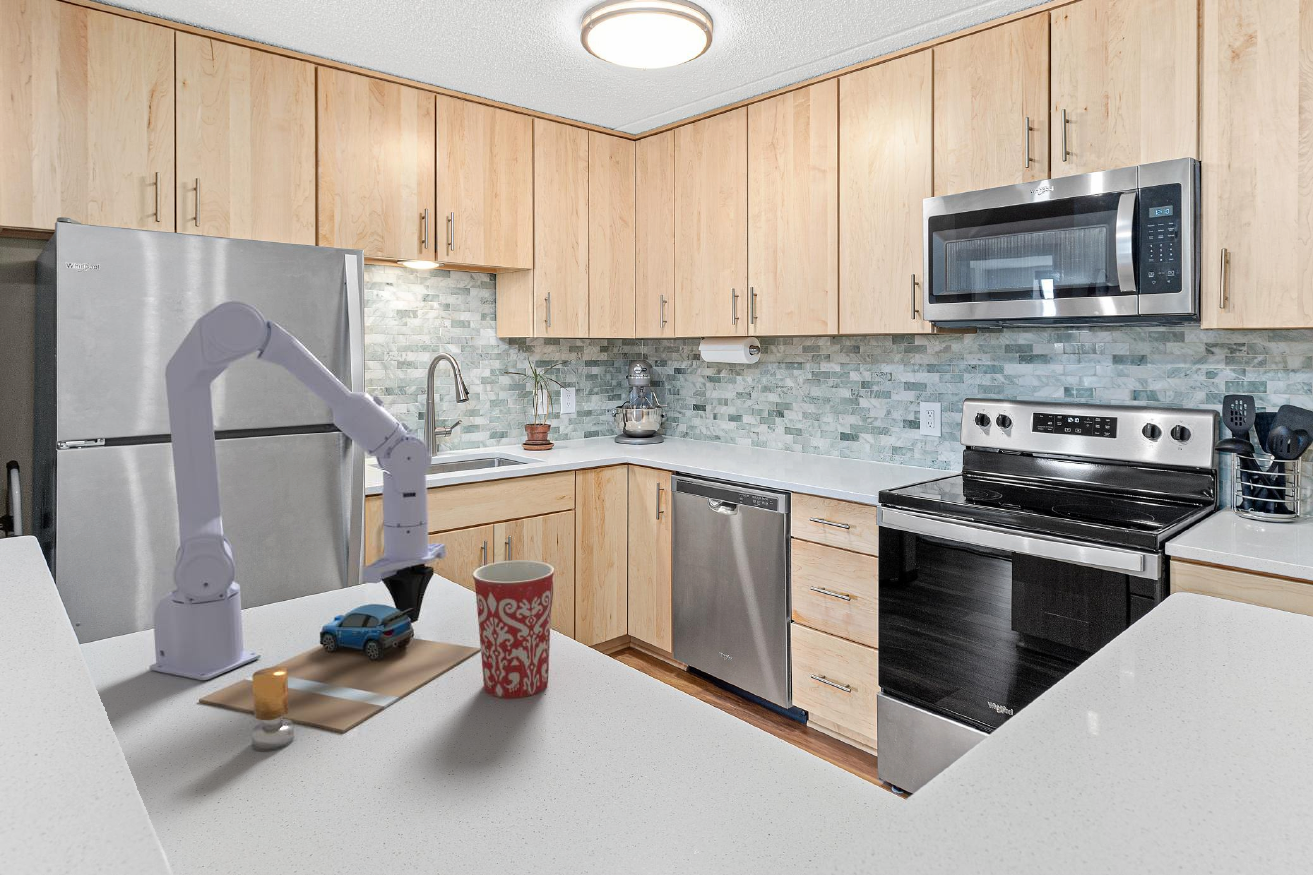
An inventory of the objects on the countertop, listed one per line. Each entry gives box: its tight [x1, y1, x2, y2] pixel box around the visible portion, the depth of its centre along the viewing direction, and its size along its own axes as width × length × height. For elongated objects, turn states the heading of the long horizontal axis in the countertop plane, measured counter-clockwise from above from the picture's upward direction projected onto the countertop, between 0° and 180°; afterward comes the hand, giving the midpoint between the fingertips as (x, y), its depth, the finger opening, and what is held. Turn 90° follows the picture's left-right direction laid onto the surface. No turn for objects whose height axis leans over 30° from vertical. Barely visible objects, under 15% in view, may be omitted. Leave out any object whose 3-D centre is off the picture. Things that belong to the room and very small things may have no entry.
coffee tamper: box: [251, 666, 295, 752], centre depth 76 cm, size 4×4×7 cm
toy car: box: [319, 603, 416, 661], centre depth 100 cm, size 6×12×6 cm, turn 68°
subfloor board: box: [198, 637, 481, 734], centre depth 93 cm, size 20×24×1 cm
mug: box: [472, 560, 556, 699], centre depth 91 cm, size 13×9×14 cm
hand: (408, 621), depth 108 cm, fingers closed
